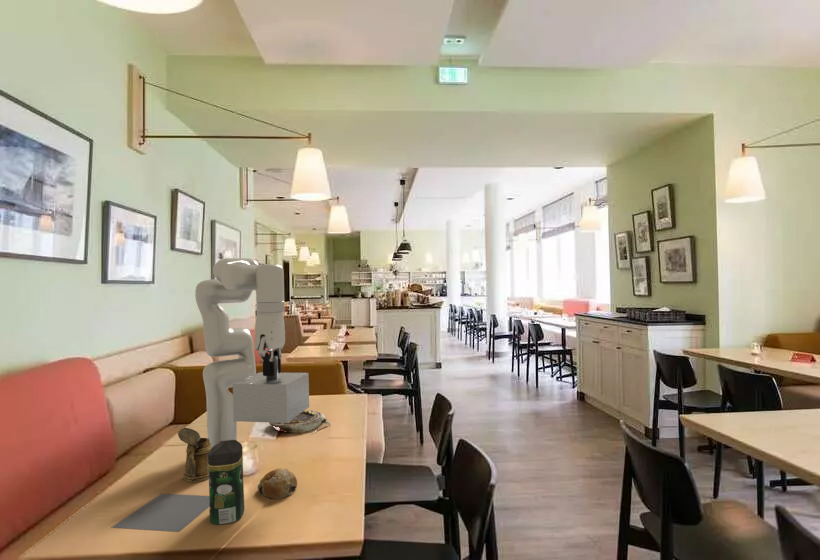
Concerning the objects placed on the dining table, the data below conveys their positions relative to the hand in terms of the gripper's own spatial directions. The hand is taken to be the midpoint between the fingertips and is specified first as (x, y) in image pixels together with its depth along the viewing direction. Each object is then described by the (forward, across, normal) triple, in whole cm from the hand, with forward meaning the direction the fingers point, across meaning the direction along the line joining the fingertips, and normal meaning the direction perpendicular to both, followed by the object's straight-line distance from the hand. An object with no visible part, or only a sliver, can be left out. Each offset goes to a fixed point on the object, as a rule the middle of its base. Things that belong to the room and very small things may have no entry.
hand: (272, 373), depth 132 cm
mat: (+33, +15, -22) cm, 42 cm away
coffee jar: (+33, +15, -6) cm, 37 cm away
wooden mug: (+33, -4, -27) cm, 43 cm away
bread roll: (+34, 0, 0) cm, 34 cm away
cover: (+11, 0, 0) cm, 11 cm away
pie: (+34, -58, -19) cm, 70 cm away
